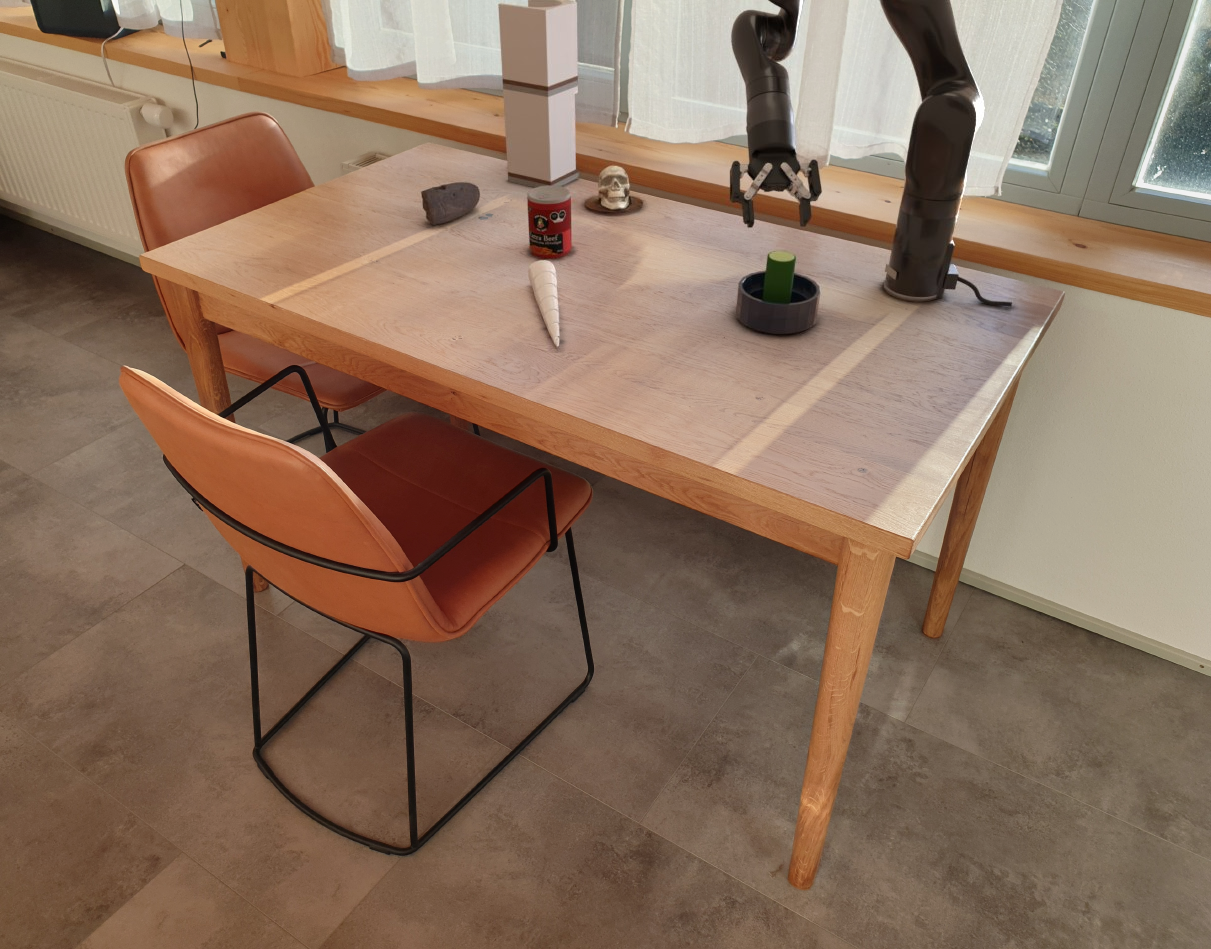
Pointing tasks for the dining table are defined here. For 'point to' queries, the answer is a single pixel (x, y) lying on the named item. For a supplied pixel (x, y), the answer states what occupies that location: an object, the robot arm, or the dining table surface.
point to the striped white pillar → (540, 90)
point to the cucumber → (779, 277)
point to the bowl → (777, 305)
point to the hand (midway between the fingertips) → (777, 225)
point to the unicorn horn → (546, 294)
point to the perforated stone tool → (449, 201)
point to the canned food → (549, 221)
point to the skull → (613, 192)
